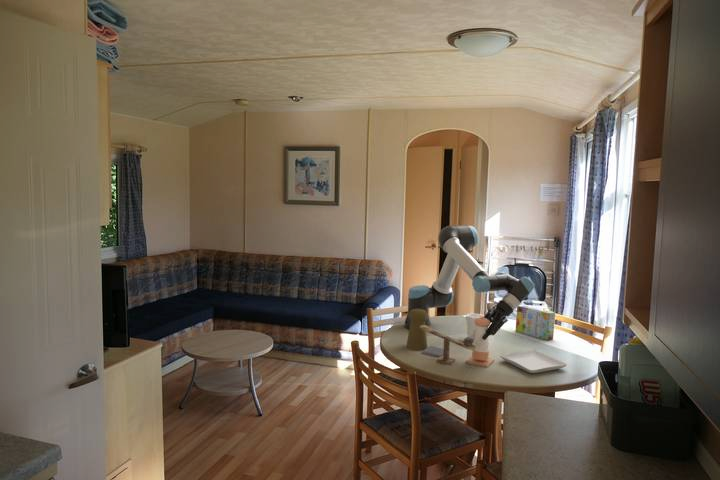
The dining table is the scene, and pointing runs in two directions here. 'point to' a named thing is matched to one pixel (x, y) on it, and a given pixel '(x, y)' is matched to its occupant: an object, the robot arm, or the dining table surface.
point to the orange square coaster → (480, 361)
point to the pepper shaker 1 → (417, 330)
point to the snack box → (535, 322)
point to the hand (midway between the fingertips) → (473, 341)
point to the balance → (447, 340)
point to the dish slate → (433, 351)
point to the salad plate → (533, 361)
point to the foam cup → (472, 322)
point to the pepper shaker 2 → (482, 350)
